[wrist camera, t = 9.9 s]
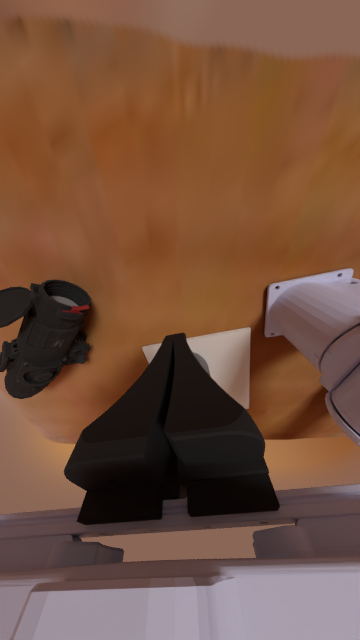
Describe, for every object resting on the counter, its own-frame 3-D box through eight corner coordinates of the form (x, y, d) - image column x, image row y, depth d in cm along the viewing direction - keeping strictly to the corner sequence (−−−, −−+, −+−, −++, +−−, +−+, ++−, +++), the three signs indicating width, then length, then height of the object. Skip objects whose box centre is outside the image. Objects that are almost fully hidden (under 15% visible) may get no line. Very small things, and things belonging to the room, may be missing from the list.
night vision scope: (59, 356, 28) (-37, 363, 20) (102, 275, 21) (-16, 237, 13) (68, 398, 24) (-46, 429, 16) (124, 316, 17) (-23, 298, 9)
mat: (249, 327, 22) (250, 328, 22) (248, 406, 32) (248, 408, 32) (142, 346, 24) (141, 348, 23) (172, 416, 34) (172, 418, 33)
